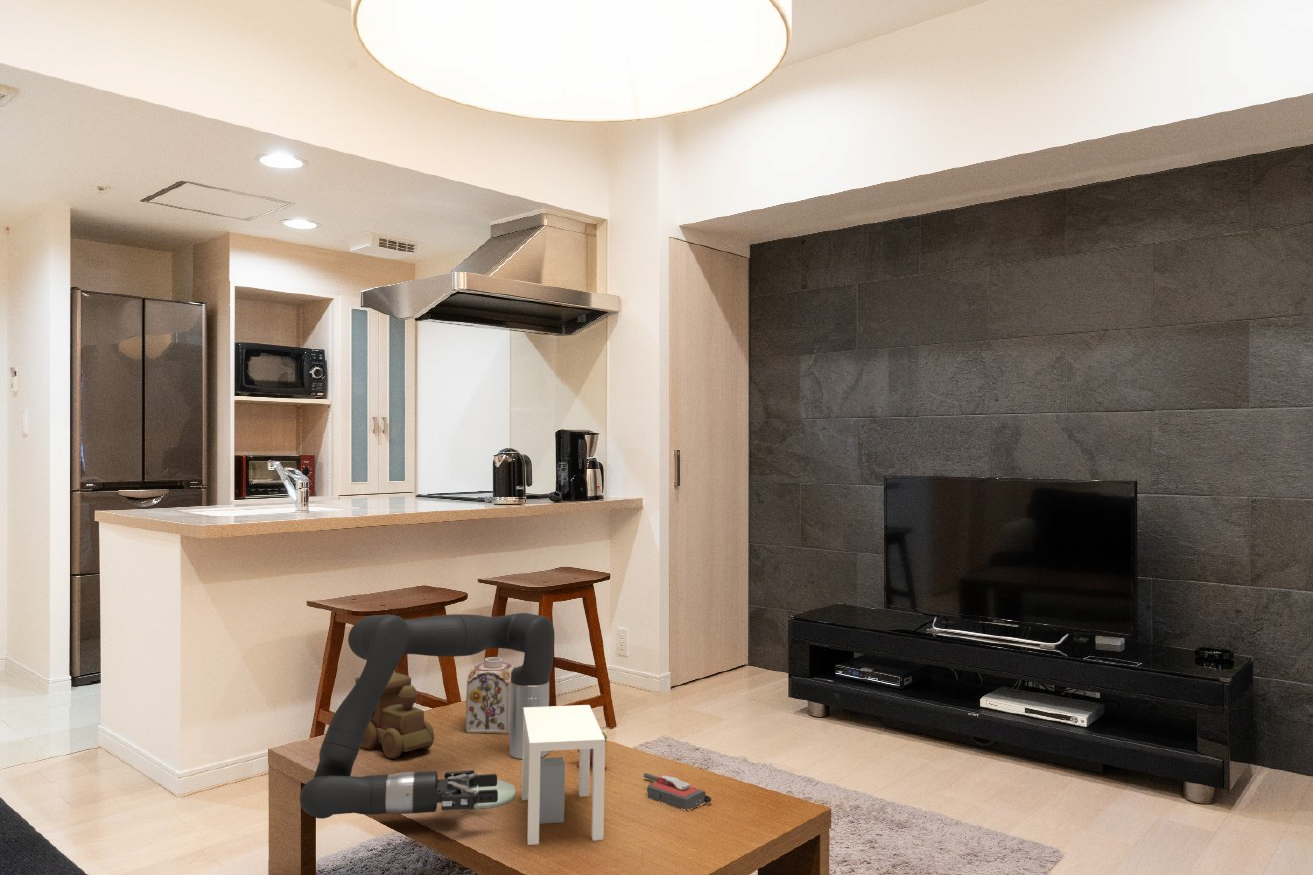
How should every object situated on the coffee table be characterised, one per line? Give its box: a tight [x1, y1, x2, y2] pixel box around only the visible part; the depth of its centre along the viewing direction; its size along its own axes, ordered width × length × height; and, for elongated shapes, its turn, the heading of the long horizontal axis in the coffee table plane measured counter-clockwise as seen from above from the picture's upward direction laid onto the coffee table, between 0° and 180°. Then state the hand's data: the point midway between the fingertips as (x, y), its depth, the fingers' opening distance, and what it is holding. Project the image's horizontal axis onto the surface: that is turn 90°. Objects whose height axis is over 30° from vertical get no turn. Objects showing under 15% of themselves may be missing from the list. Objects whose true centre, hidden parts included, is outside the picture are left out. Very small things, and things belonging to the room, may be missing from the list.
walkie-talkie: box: [643, 772, 712, 810], centre depth 191 cm, size 9×4×20 cm
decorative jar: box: [465, 656, 516, 735], centre depth 238 cm, size 12×12×18 cm
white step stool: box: [521, 704, 606, 846], centre depth 179 cm, size 14×24×19 cm, turn 11°
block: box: [539, 756, 566, 825], centre depth 178 cm, size 5×5×11 cm
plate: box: [461, 779, 516, 810], centre depth 189 cm, size 14×14×1 cm
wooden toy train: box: [354, 671, 435, 760], centre depth 219 cm, size 20×11×17 cm, turn 50°
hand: (497, 787), depth 177 cm, fingers open, 8 cm apart
